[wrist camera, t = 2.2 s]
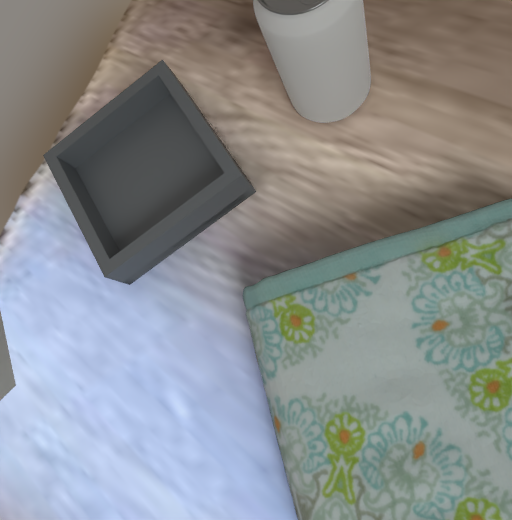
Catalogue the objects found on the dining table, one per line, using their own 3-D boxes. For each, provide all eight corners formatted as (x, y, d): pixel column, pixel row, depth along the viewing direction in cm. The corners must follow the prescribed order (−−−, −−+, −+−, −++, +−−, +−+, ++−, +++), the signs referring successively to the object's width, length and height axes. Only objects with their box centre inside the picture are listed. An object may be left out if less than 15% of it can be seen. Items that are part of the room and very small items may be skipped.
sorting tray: (181, 83, 42) (162, 59, 39) (256, 191, 37) (242, 174, 34) (70, 171, 43) (43, 155, 40) (129, 284, 39) (104, 277, 36)
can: (318, 141, 37) (282, 42, 26) (275, 86, 39) (224, -27, 28) (388, 90, 36) (382, -35, 25) (340, 37, 38) (315, -100, 27)
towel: (679, 493, 26) (740, 521, 21) (316, 555, 31) (300, 589, 26) (545, 202, 31) (570, 173, 27) (252, 293, 36) (229, 282, 31)
